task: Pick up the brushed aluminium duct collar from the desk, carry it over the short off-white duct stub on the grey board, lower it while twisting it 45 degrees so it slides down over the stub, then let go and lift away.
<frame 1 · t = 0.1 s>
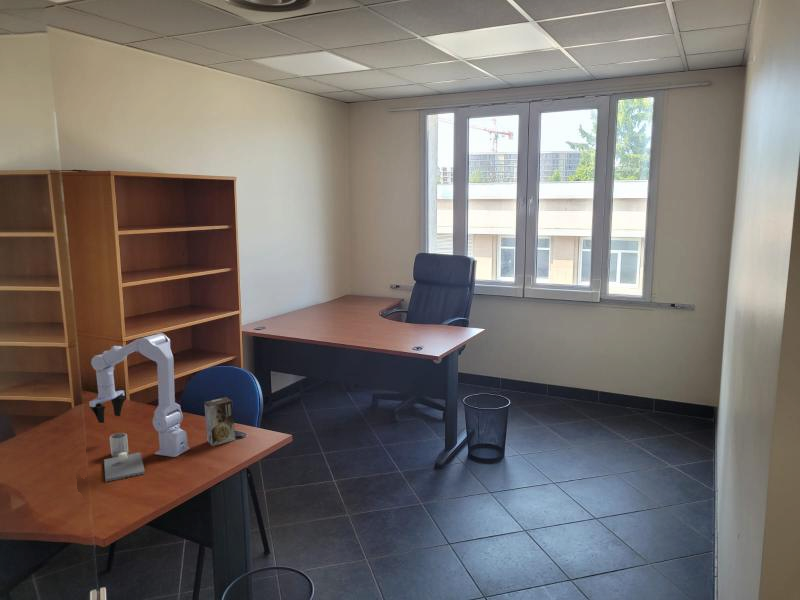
hand: (109, 419, 223), 10 cm above the table, tool pointing down, fingers open, 7 cm apart
collar: (120, 453, 215), on the table
duct board: (123, 464, 206), on the table
coffee box: (221, 441, 225), on the table
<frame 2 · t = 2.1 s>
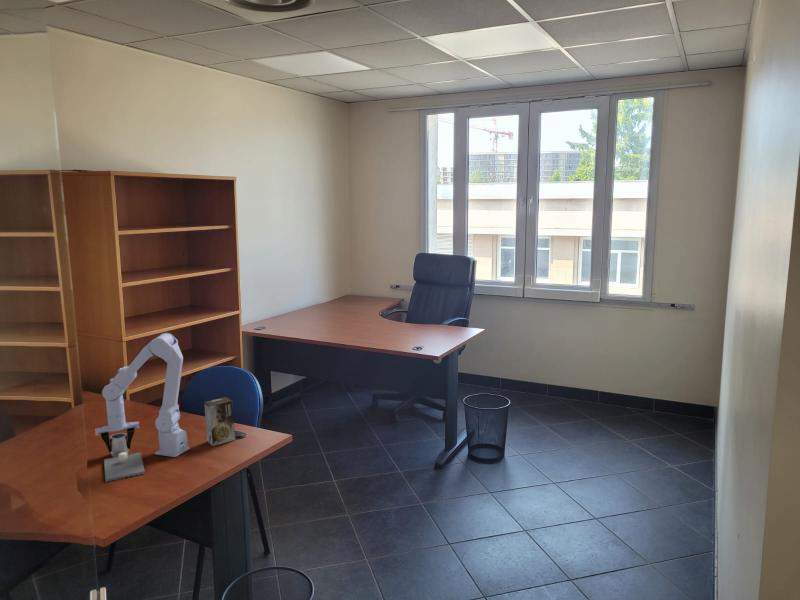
hand: (119, 449, 215), 2 cm above the table, tool pointing down, fingers closed on collar, 6 cm apart
collar: (120, 453, 215), on the table, touching gripper
everything else where it was.
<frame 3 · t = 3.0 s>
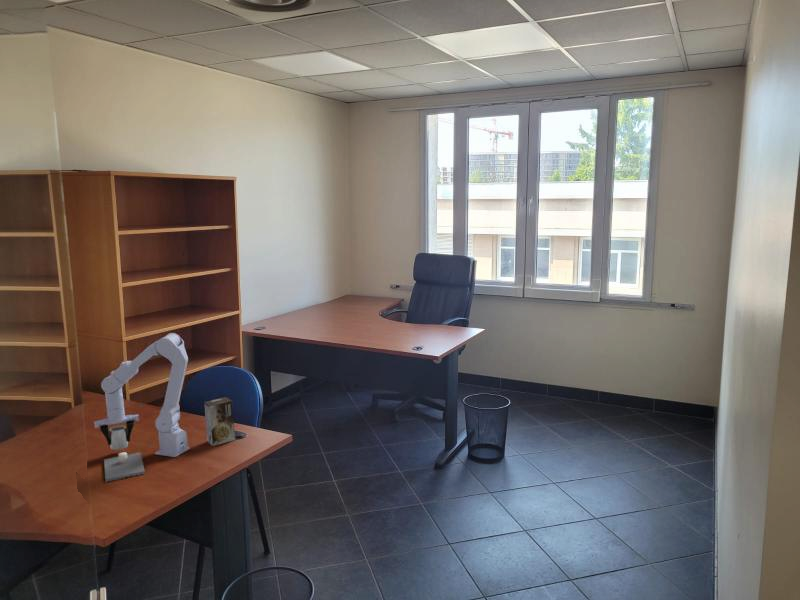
hand: (119, 442, 214), 4 cm above the table, tool pointing down, fingers closed on collar, 6 cm apart
collar: (119, 446, 214), point 3 cm above the table, touching gripper
everything else where it was.
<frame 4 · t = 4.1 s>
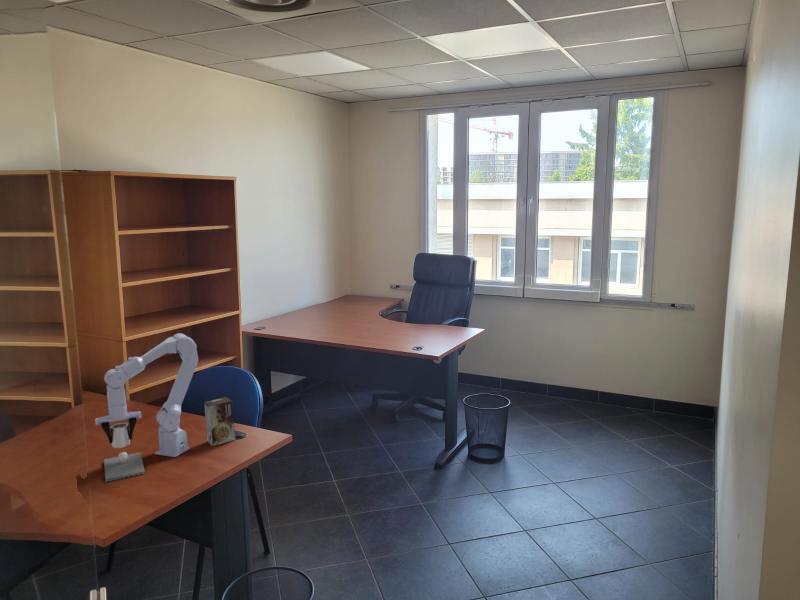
hand: (120, 440, 205), 9 cm above the table, tool pointing down, fingers closed on collar, 6 cm apart
collar: (121, 444, 205), point 7 cm above the table, touching gripper
everything else where it was.
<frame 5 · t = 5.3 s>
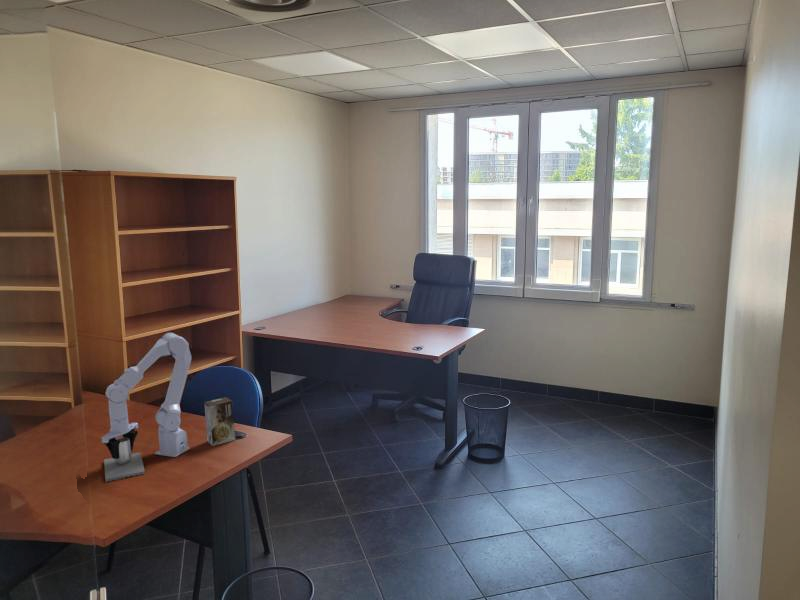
hand: (122, 454, 205), 4 cm above the table, tool pointing down, fingers closed on collar, 6 cm apart
collar: (123, 459, 205), point 2 cm above the table, touching gripper
everything else where it was.
when the fingers open (4 cm above the table, at t = 6.3 s): collar stays where it is, resting on duct board.
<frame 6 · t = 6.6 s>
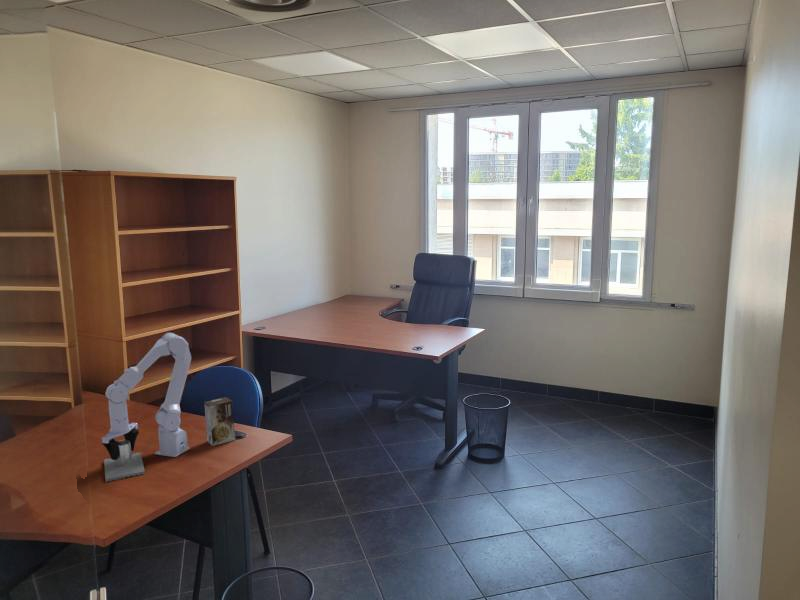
hand: (122, 454, 205), 4 cm above the table, tool pointing down, fingers open, 7 cm apart
collar: (123, 461, 205), point 1 cm above the table, touching duct board
everything else where it was.
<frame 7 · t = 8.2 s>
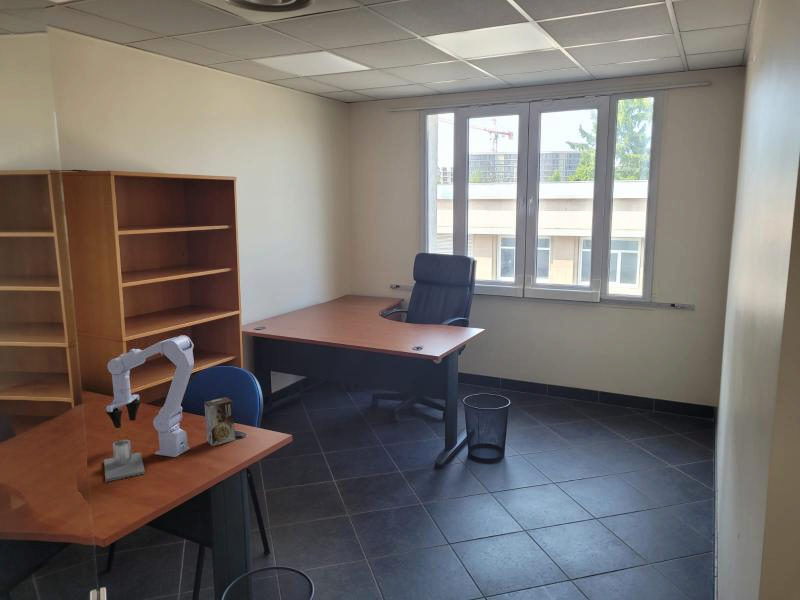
hand: (125, 423, 218), 10 cm above the table, tool pointing down, fingers open, 7 cm apart
nothing on the table moved.
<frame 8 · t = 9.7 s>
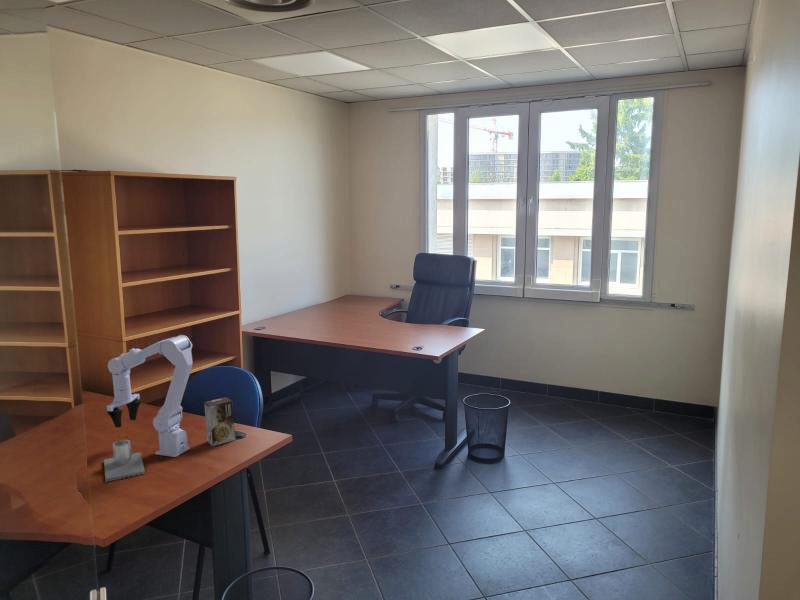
hand: (125, 423, 218), 10 cm above the table, tool pointing down, fingers open, 7 cm apart
nothing on the table moved.
at the end: collar 0.0 cm off-centre on the duct board, point 1.0 cm above the duct board's base; collar tilted 0°; the gripper is holding nothing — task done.
